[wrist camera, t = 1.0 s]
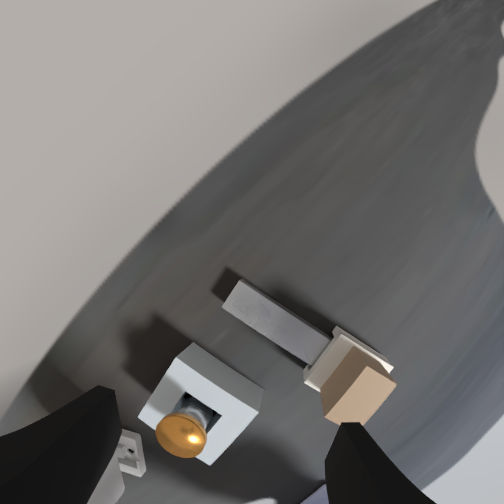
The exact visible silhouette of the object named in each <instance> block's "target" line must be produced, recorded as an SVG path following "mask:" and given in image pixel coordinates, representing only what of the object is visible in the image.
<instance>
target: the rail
mask: <svg viewBox="0 0 504 504" xmlns="http://www.w3.org/2000/svg"><path fill="white" fill-rule="evenodd" d="M222 308H224V309H225V310H227V311H228V312H229V313H231V314H232V315H234V316H235V317H237V318H238V319H240V320H241V321H243V322H244V323H246V324H247V325H249V326H250V327H252V328H253V329H255V330H256V331H258V332H259V333H261V334H262V335H264V336H265V337H267V338H268V339H270V340H271V341H273V342H274V343H276V344H278V345H279V346H281V347H282V348H284V349H285V350H287V351H288V352H290V353H292V354H293V355H295V356H296V357H298V358H300V359H301V360H303V361H304V362H306V363H308V364H309V365H311V366H313V365H314V364H315V362H316V361H317V360H318V358H319V357H320V356H321V355H322V353H323V352H324V350H325V349H326V348H327V346H328V345H329V344H330V342H331V341H332V340H333V338H332V337H330V336H329V335H327V334H326V333H324V332H323V331H321V330H320V329H318V328H317V327H315V326H313V325H312V324H310V323H309V322H307V321H306V320H304V319H303V318H301V317H300V316H298V315H297V314H295V313H294V312H292V311H291V310H289V309H287V308H286V307H284V306H283V305H281V304H280V303H278V302H277V301H275V300H274V299H272V298H271V297H269V296H268V295H266V294H265V293H263V292H262V291H260V290H259V289H257V288H256V287H254V286H253V285H251V284H250V283H248V282H247V281H246V280H244V279H241V280H239V281H238V283H237V284H236V286H235V287H234V289H233V291H232V292H231V294H230V295H229V297H228V298H227V300H226V301H225V303H224V304H223V306H222Z"/></svg>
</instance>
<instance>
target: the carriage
mask: <svg viewBox="0 0 504 504" xmlns="http://www.w3.org/2000/svg"><path fill="white" fill-rule="evenodd" d="M332 333H333V335H334V338H333V340H332V341H331V342H330V344H329V345H328V346H327V348H326V349H325V350H324V352H323V353H322V355H321V356H320V357H319V358H318V360H317V361H316V362H315V364H314V365H313V366H312V367H311V366H309V365H307V366H306V367H305V369H304V370H303V374H304V383H305V384H307V385H309V386H310V387H312V388H314V389H315V390H317V391H319V392H320V394H321V399H322V405H323V411H324V417H325V418H327V419H329V420H331V421H333V422H334V423H336V424H338V425H340V424H341V422H360V423H361V425H362V426H363V425H364V424H365V423H366V421H367V420H368V419H369V418H370V417H371V416H372V415H373V414H374V412H375V411H376V410H377V409H378V408H379V407H380V405H381V404H382V403H383V402H384V401H385V399H386V398H387V397H388V396H389V394H390V393H391V392H392V391H393V389H394V388H395V387H396V386H397V383H396V382H395V381H394V379H393V378H392V377H391V376H390V374H389V373H390V372H391V370H392V369H393V368H394V367H393V366H392V365H391V364H390V362H389V361H388V360H387V359H386V358H385V357H384V356H383V355H381V354H379V353H378V352H376V351H375V350H373V349H372V348H370V347H369V346H367V345H365V344H364V343H362V342H361V341H359V340H358V339H356V338H355V337H353V336H352V335H350V334H349V333H347V332H345V331H344V330H342V329H341V328H339V327H338V326H336V327H335V328H334V330H333V331H332Z"/></svg>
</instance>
